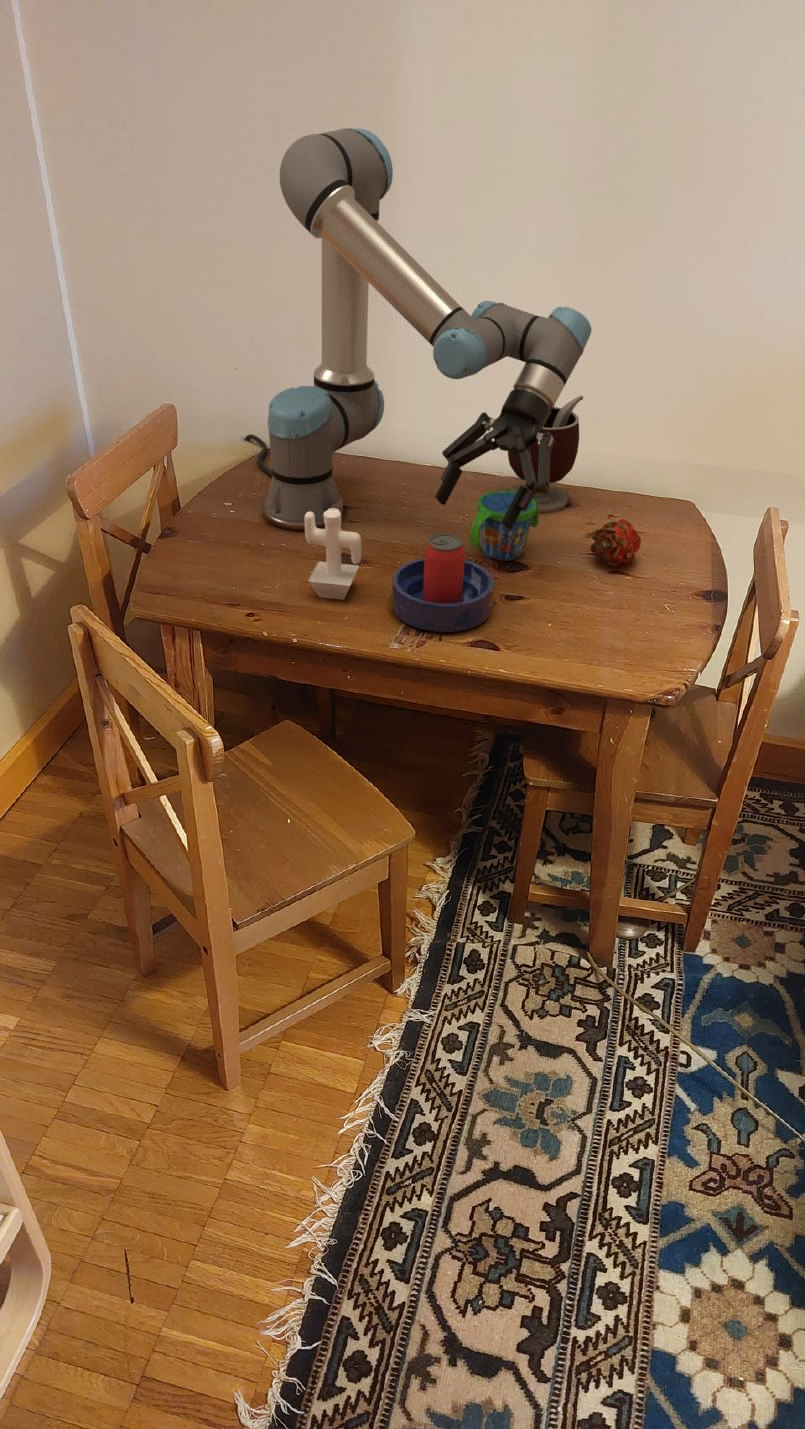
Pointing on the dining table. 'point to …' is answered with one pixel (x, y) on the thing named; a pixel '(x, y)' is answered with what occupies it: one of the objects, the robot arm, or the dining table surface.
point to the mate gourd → (554, 455)
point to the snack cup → (501, 526)
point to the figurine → (332, 555)
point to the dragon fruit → (616, 542)
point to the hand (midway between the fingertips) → (472, 513)
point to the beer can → (443, 569)
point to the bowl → (442, 614)
